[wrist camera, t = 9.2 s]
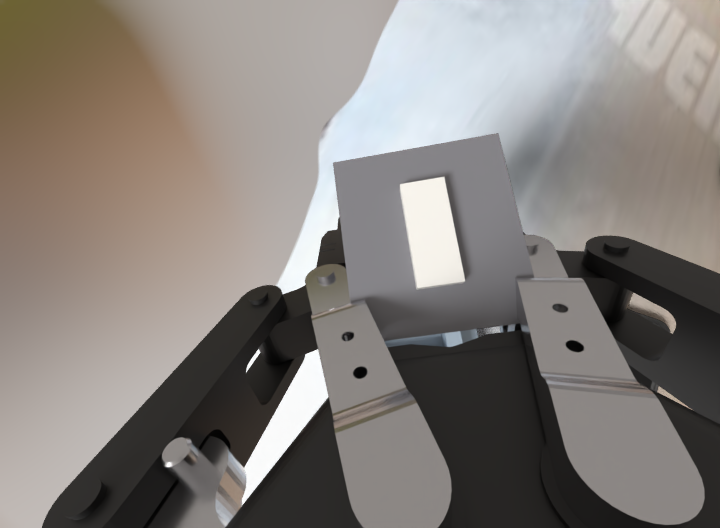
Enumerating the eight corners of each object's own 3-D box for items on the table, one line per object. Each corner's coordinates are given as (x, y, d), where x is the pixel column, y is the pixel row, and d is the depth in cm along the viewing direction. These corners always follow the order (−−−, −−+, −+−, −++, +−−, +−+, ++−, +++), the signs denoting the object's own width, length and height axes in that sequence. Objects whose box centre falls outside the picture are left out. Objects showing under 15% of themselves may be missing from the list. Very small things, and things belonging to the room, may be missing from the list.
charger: (367, 254, 18) (330, 156, 8) (440, 243, 17) (502, 125, 7) (379, 334, 17) (353, 345, 7) (456, 324, 16) (552, 319, 6)
